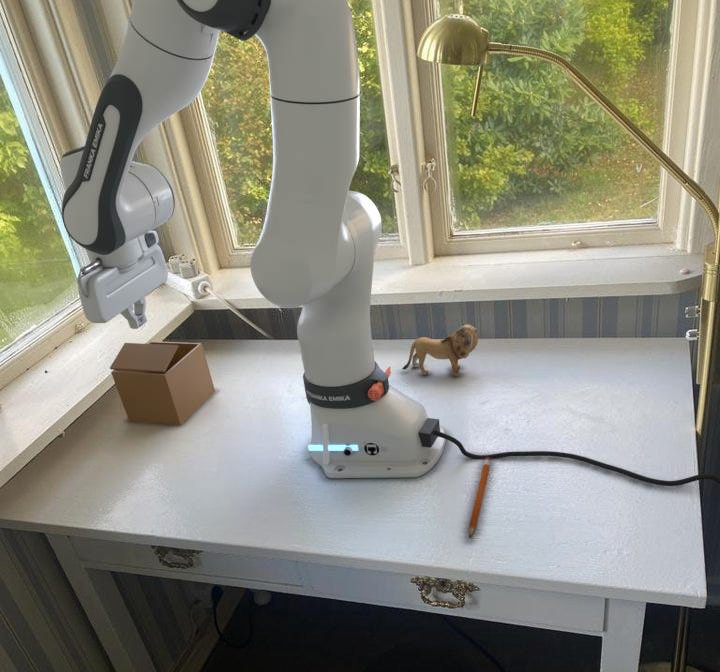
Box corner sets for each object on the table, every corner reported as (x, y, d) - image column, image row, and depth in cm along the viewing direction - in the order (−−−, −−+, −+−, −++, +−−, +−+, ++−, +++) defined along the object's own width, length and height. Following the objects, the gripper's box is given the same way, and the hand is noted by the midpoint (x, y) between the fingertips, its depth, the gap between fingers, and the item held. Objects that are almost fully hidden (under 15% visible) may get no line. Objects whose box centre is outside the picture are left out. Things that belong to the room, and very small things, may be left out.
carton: (215, 391, 144) (201, 343, 138) (180, 425, 135) (164, 375, 129) (165, 387, 148) (150, 341, 142) (128, 420, 139) (110, 371, 133)
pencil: (490, 461, 112) (490, 457, 112) (473, 541, 98) (472, 536, 97) (485, 461, 113) (485, 456, 112) (466, 540, 98) (466, 535, 98)
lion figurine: (479, 363, 139) (478, 319, 134) (478, 376, 135) (476, 331, 130) (404, 365, 142) (399, 322, 137) (400, 378, 138) (395, 335, 133)
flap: (178, 346, 132) (177, 345, 131) (164, 372, 128) (163, 371, 128) (125, 344, 136) (124, 342, 135) (110, 369, 133) (109, 367, 132)
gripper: (90, 271, 113) (119, 352, 121) (162, 229, 128) (183, 303, 136) (58, 271, 115) (88, 350, 123) (133, 229, 130) (155, 302, 138)
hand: (139, 325), depth 130 cm, fingers closed
